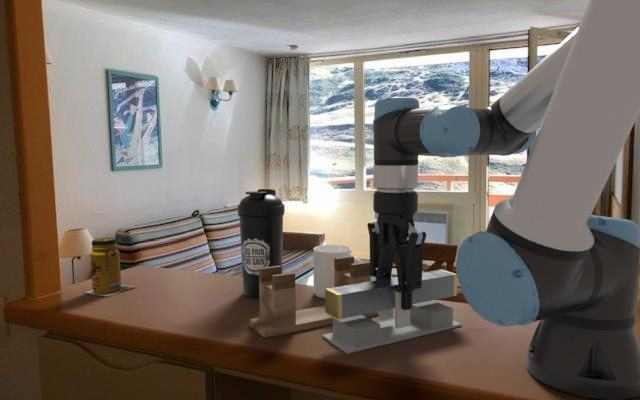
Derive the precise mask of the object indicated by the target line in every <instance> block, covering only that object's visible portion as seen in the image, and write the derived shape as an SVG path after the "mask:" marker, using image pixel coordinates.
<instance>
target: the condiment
mask: <svg viewBox="0 0 640 400" xmlns="http://www.w3.org/2000/svg"><path fill="white" fill-rule="evenodd" d="M91 246H92V247H91V250H92V251H91V252H90V268H91V284H92V290H89V291H88V290H87V291H84V293H85V294H90V295H96V296H103V297H108V296H113V295H115V294H119V293H121V292H124V291H127V290H130V289H132V288H135V287H137V286H136V285H127V284H122V277H121V276H122V274H121V271H122V270H121V256H120V250H119V249H118V240H117V239H116V237H100V238H94V239H92V240H91Z"/></svg>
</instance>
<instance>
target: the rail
mask: <svg viewBox="0 0 640 400" xmlns="http://www.w3.org/2000/svg"><path fill="white" fill-rule="evenodd" d="M405 284H406V282H405ZM396 288H399V286H398V277H397V276H395V277H393V278H388V279H382V280H376V279H375V280H372V281H370V282H364V283H358V284H352V285H346V286H340V287H334V288H328V289H325V299H324V300H325V301H324V303H325V305H324V306H325V312H326V313H327V314H329V315H331V316H333V317H334V318H336V319H343V318H348V317H353V316H358V315H363V314H368V313H373V312H377V311H382V310H387V309H392V308H393V309H395V289H396ZM455 296H458V277H457V273H455V272H451V271H448V270H446V269H445V270H444V269H437V270H432V271H425V272H422V287H421V288H420V289H415V290H413V291H412V304H417V303H422V302H427V301H432V300H433V301H436V300H437V301H438V300H442V299H446V298H451V297H455Z"/></svg>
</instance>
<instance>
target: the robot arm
mask: <svg viewBox="0 0 640 400" xmlns="http://www.w3.org/2000/svg"><path fill="white" fill-rule="evenodd" d="M582 15H583V16H582V17H581V20H580V23H579V26H578V27H576V29H575V30H573V31H572V32H571V33H570V34H568V36H567V37H566V38H564V39H563V40H562V42H560V43H559V44H558V45H557V46H556V47H554V49H552V50H551V51H550V52H549V53H548V54H547V55H546V56H545V57H543V58H542V59H541V60H540V61H539V62H538V63H537V64H536V65H534V67H533V68H531V69H530V70H529V71H528V72H527V73H526V74H525V75H523V77H521V78H520V79H519V80H518V81H517V82H516V83H515V84H513V85H512V86H511V87H510V88H509V89H508V90H507V91H506V92H505V93H504V94H503V95H502V96H500V97H499V98H498V99H497V100H496V101H494V102H493V103H492V104H491V105H489V106H488V107H468V106H467V105H462V104H446V103H444V104H440V105H437V106H428V107H420V101H419V99H417V98H416V97H409V96H392V97H382V98H379V99H377V100H376V102H375V104H374V113H373V114H374V115H373V117H374V119H373V120H372V121H373V122H372V125H373V172H372V173H373V178H372V179H373V181H372V184H373V185H372V186H373V188H375V189H376V190H375V191H374V192H373V195H372V196H373V201H372V202H373V203H372V205H373V212H375V213H376V214H378V216H377V219H376V221H373V222H368V223H367V229H368V230H367V231H368V235H369V262H370V275H371V277H374V278H375V281H376V280H382V279H388V278H394V277H393V276H392V274H393V272H392V271H393V265H394V258H395V266H396V267H395V268H396V277H398V286H399V288H396V289H395V308H392V309H387V310H382V311H379V315H378V320H379V321H386V320H389V319H390V320H391V319H393V318H394V319H395V328H397V329H399V328H403V327H407V326H410V309H411V308H412V291H413V290H415V289H420V288H421V287H422V273H423V262H424V245H425V242H426V238H427V233H426V231H424V230H423V231H419V230H418V229H417V228H416V227H415V226H416V225H415V222H414V215H415V214H416V213H417V212H418V209H419V208H418V207H419V193H417V191H416V190H415V189H417V188H418V187H419V186H418V185H419V162H420V161H419V156H424V157H425V156H426V157H439V158H444V159H445V158H455V157H462V156H500V157H501V156H502V157H504V156H511V155H514V154H515V155H516V154H521V153H523V152H525V151H526V150H528V149H530V147H531V150H530V152H529V154H528V157H527V160H526V163H525V164H524V167H523V170H522V172H521V175H520V178H519V180H518V183H517V185H516V188H515V191H514V193H513V195H512V196H511V197H507V198H506V199H503V200H499V201H498V202H497V204H495V206H494V209H493V211H492V214H491V216H490V218H489V221H488V224H487V227H486V229H485V230H484V231H482V230H481V231H477V232H475V233H473V234H471V235H469V236H467V238H465V239H464V240H463V242H462V243H461V244H460V246H459V248H458V251H457V253H456V255H457V256H456V259H455V260H456V261H455V262H456V263H455V268H456V274H457V282H458V283H459V286H460V288H461V292H462V295H463V296H464V298H465V300H466V302H467V304H468V305H469V306H470V307H471V309H472V310H473V311H474V312H475V314H477V315H478V316H480V318H482V319H483V320H484V321H486V322H488V323H490V324H492V325H495V326H499V327H514V326H526V325H530V324H532V323H534V322H538V321H539V322H538V323H537V326H536V329H535V331H534V333H533V335H532V337H531V340H530V343H529V345H528V347H527V351H526V363H525V364H526V369H527V371H528V373H529V374H530V375H531V376H532V377H534V379H536V380H538V381H539V382H541V383H543V384H545V385H546V386H549V387H550V388H553V389H556V390H558V391H561V392H564V393H567V394H571V395H574V396H577V397H584V398H589V399H594V400H596V399H597V400H629V399H634V398H637V397H639V396H640V342H639V340H638V336H637V332H636V328H635V327H636V313H637V302H638V301H637V299H638V285H639V284H638V283H639V272H640V227H639V225H638V224H637V223H636V222H634V221H633V220H630V219H625V218H618V217H609V216H605V215H602V216H601V215H594V214H592V213H593V212H594V209H595V208H596V205H597V203H598V200H599V199H600V197H601V194H602V192H603V190H604V188H605V186H606V184H607V182H608V179H609V178H610V176H611V173H612V171H613V170H614V166H615V164H616V162H617V160H618V158H619V156H620V155H621V152H622V149H623V148H624V146H625V143H626V141H627V139H628V137H629V135H630V133H631V131H632V128H633V127H634V125H635V123H636V121H637V118H638V116H639V114H640V0H588V2H587V4H586V6H585V9H584V13H583V14H582ZM537 130H538V132H537ZM532 143H533V145H532ZM405 282H406V284H405Z"/></svg>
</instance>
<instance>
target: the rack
mask: <svg viewBox="0 0 640 400" xmlns="http://www.w3.org/2000/svg"><path fill="white" fill-rule="evenodd" d="M354 257H355V256H353V255H351V256H346V257H338V258H334V287H340V286H346V285H352V284H358V283H364V282H370V281H371V280H372V279H371V277H372V276H371V275H370V261H361V263H354ZM258 300H259V317H256V318H251V319H249V327H250V328H251V329H253V330H254V331H255V332H257V333H258V334H259V335H260V336H262V337H263V339H267V338H271V337H275V336H276V337H277V336H282V335H285V334H292V333H295V332H300V331H306V330H311V329H314V328H320V326H321V327H325V326H329V325H333V316H331V315H329V314H327V313H326V312H325V305H321V306H316V307H309V308H304V309H298V310H296V308H297V307H296V303H297V302H296V301H297V300H296V273H295V272H293V271H291V272H285V273H282V274H281V266H279V265H278V266H271V267H263V268H259V299H258ZM363 316H365V317H367V318H369V317H373V316H379V311H377V312H373V313H368V314H363Z"/></svg>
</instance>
